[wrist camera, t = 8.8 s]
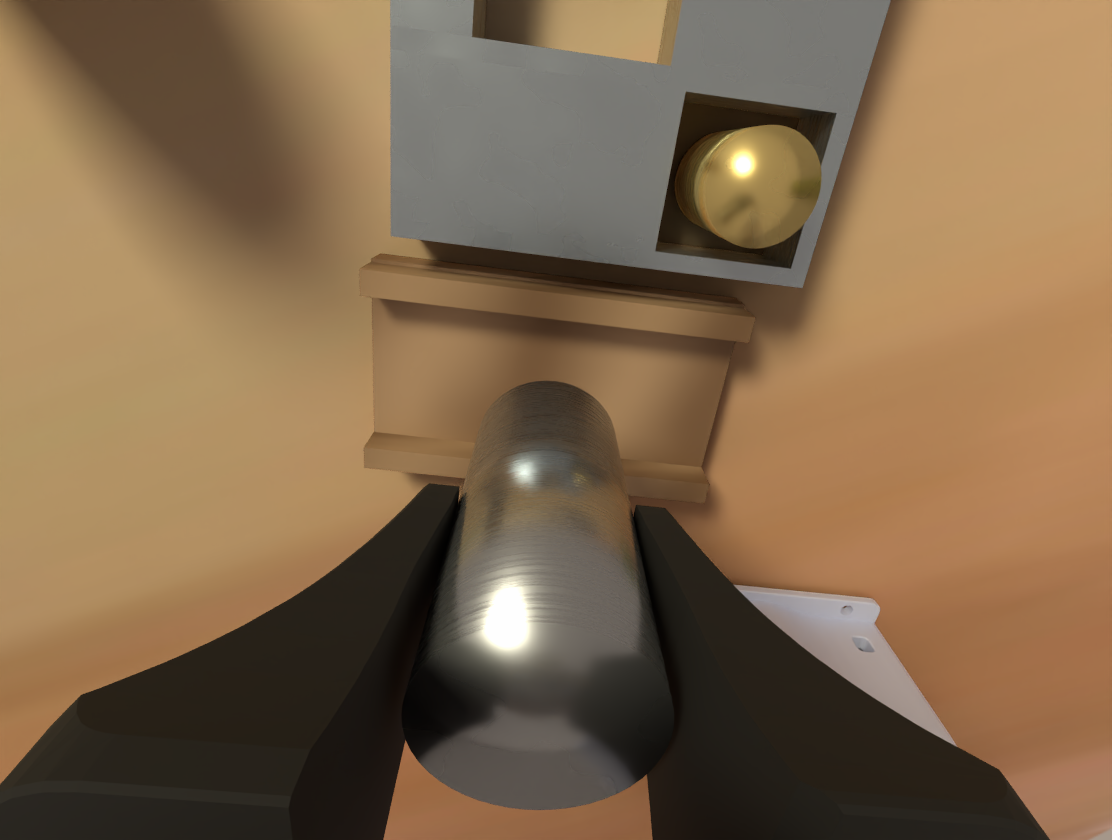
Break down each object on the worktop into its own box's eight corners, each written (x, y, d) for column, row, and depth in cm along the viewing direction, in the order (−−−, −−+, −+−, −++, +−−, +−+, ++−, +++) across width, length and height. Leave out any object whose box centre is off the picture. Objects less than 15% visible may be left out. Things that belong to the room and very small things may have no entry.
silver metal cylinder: (627, 389, 14) (702, 639, 7) (604, 509, 16) (646, 818, 8) (482, 372, 14) (401, 611, 7) (473, 496, 15) (400, 800, 8)
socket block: (912, -224, 14) (982, -298, 12) (772, 271, 19) (802, 287, 17) (418, -312, 13) (389, -408, 11) (411, 226, 18) (390, 236, 16)
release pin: (777, 137, 17) (837, 133, 13) (752, 234, 18) (801, 255, 14) (685, 124, 17) (721, 117, 13) (666, 223, 18) (694, 240, 14)
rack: (736, 298, 19) (756, 314, 17) (690, 474, 22) (703, 506, 20) (380, 253, 19) (359, 265, 17) (382, 441, 22) (364, 470, 20)
